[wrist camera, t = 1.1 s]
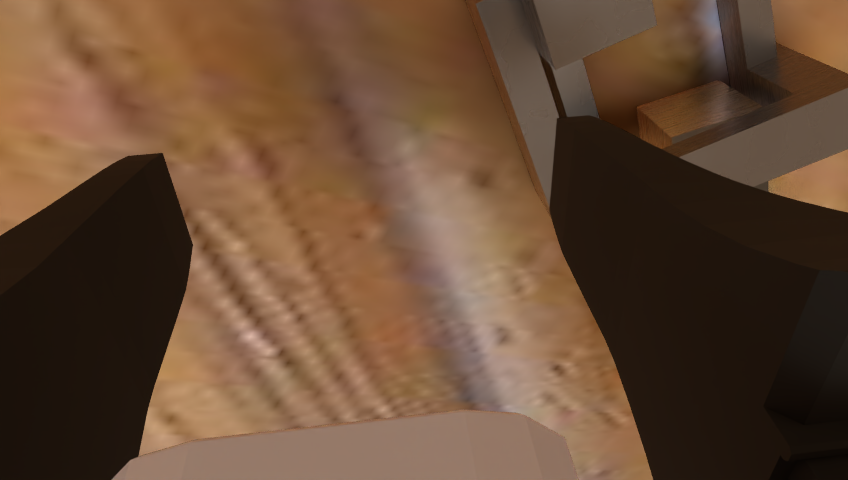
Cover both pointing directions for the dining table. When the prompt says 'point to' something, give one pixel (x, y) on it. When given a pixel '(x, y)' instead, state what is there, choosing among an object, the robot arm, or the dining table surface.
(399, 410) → the dining table surface
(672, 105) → the beige rectangular bar
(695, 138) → the collar block
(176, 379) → the dining table surface
